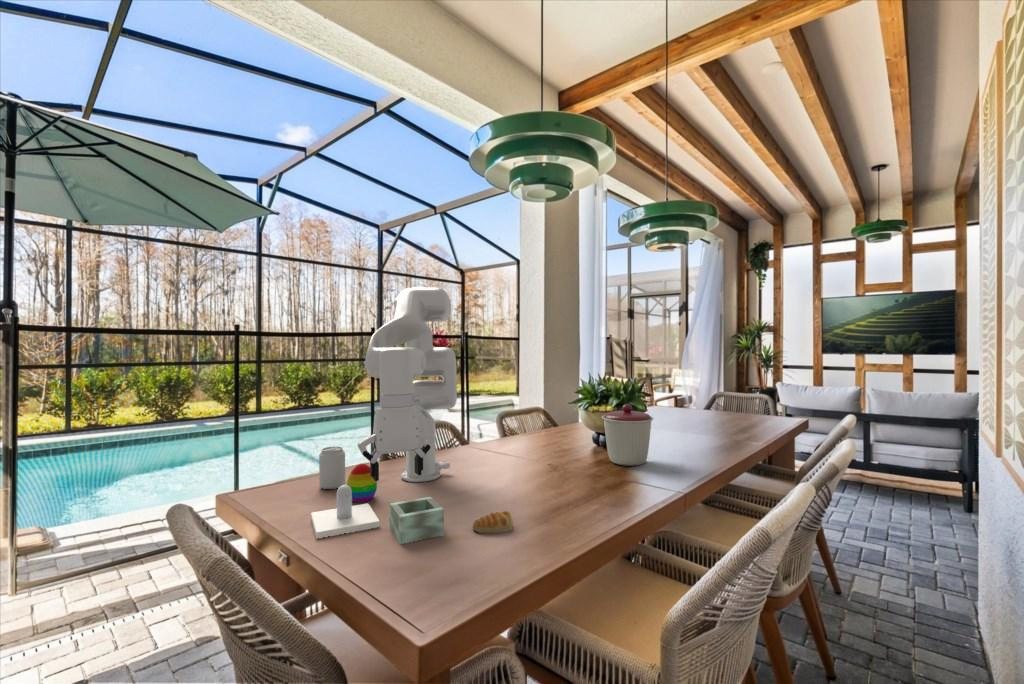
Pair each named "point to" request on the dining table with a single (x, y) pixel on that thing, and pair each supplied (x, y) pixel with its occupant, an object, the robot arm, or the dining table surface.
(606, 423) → the canister
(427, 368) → the robot arm
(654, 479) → the dining table surface
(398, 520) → the collar
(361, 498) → the decorative egg
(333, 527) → the post board
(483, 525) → the pastry
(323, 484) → the can
